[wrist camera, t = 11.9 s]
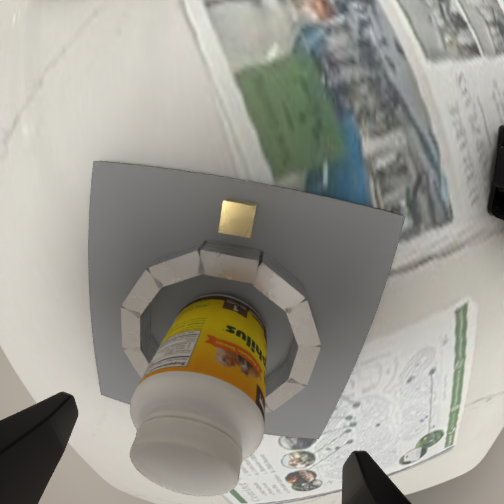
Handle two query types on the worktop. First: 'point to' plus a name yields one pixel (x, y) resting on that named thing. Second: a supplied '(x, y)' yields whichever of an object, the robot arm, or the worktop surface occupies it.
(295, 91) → the worktop surface
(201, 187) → the socket base
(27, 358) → the worktop surface
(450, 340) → the worktop surface
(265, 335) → the supplement bottle
